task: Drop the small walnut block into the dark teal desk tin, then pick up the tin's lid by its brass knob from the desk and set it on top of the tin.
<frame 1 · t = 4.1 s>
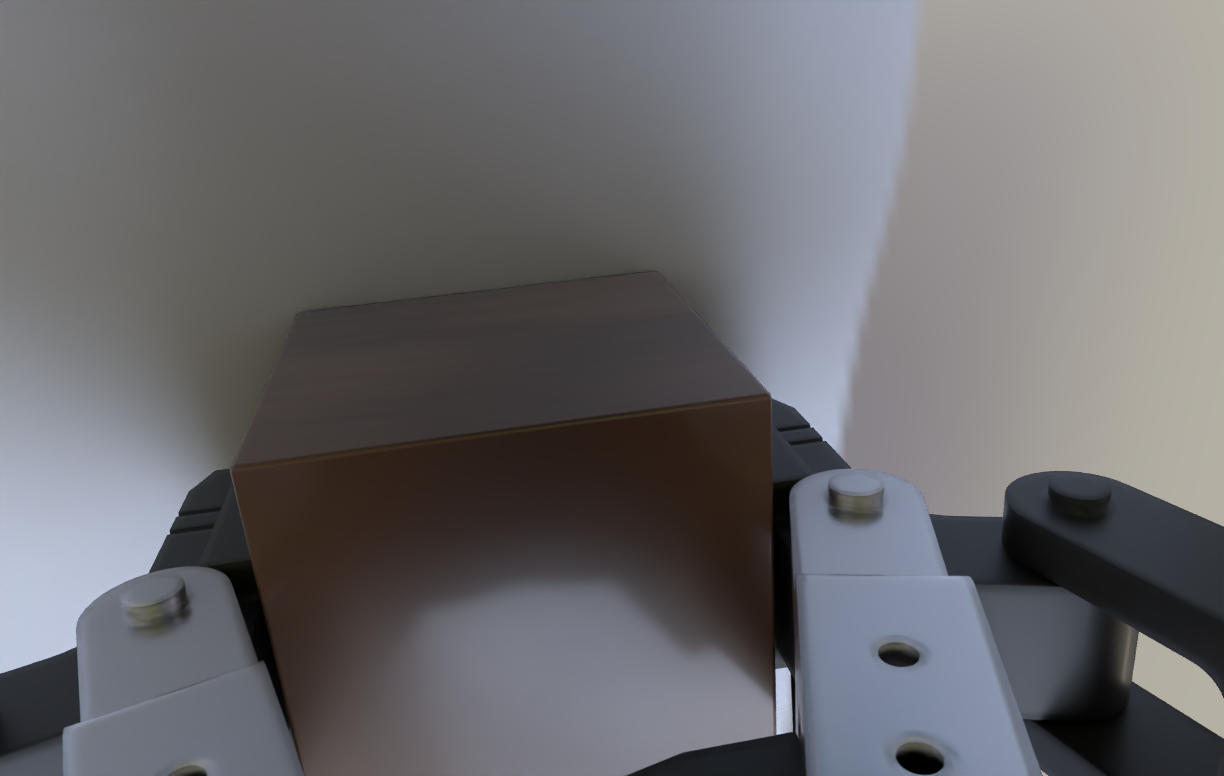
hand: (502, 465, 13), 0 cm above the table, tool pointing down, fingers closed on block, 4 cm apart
block: (502, 453, 13), on the table, touching gripper
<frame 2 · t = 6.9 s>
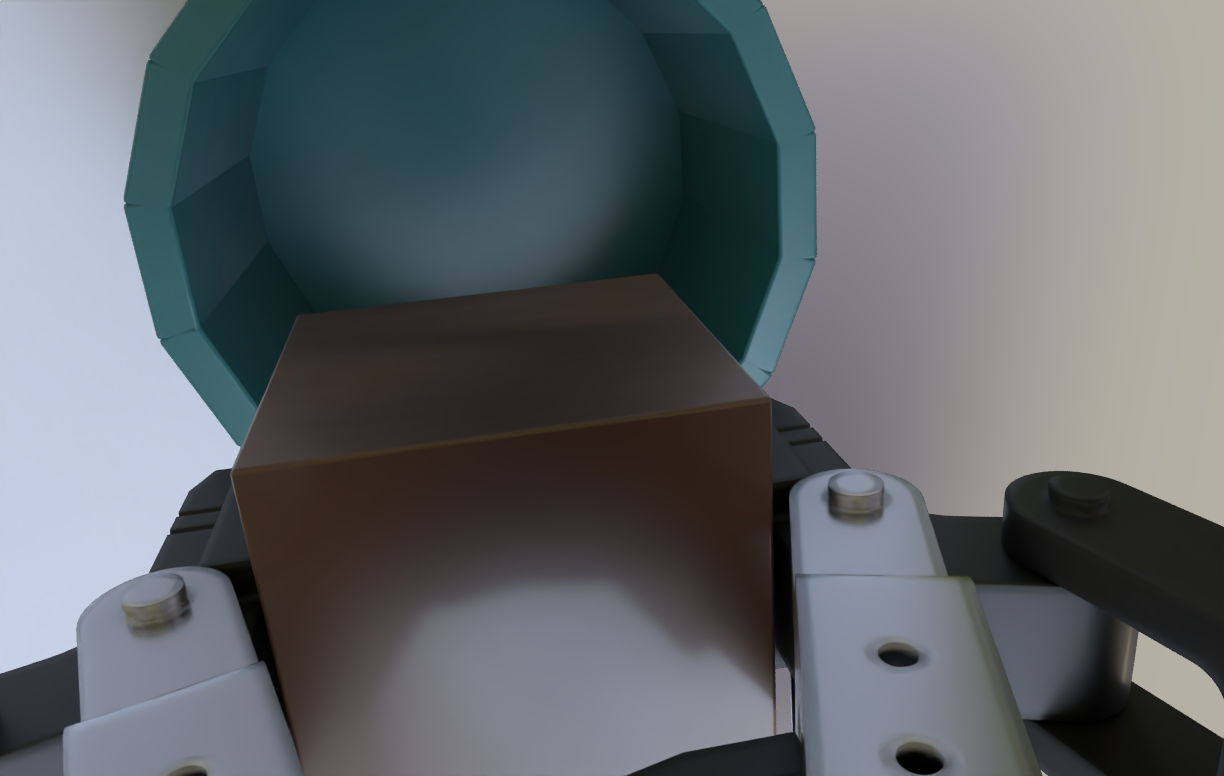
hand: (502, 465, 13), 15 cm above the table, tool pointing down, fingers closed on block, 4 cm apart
block: (502, 456, 13), point 14 cm above the table, touching gripper
tin: (475, 172, 26), on the table
when the fingers open (6 cm above the table, at t = 9.7 s): block drops 5 cm, resting on tin.
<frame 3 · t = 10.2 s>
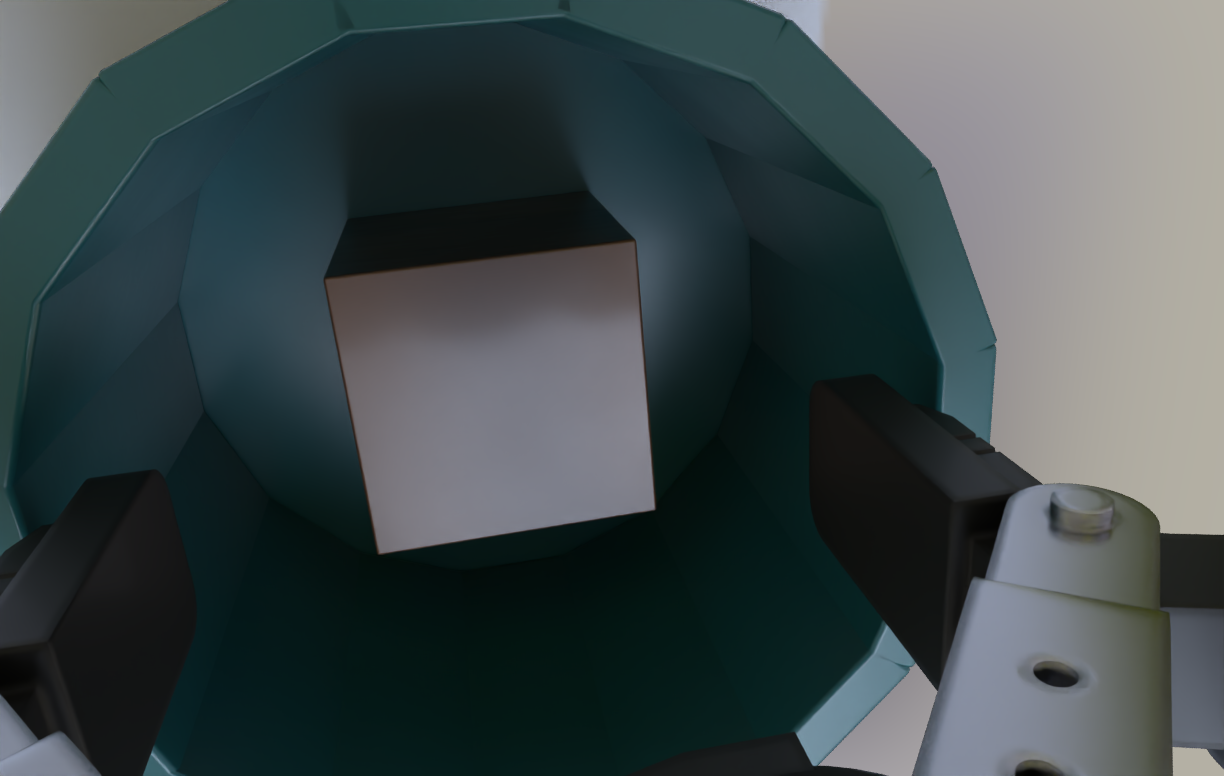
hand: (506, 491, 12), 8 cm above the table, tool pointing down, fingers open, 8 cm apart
block: (485, 320, 19), resting on tin
tin: (480, 313, 20), on the table
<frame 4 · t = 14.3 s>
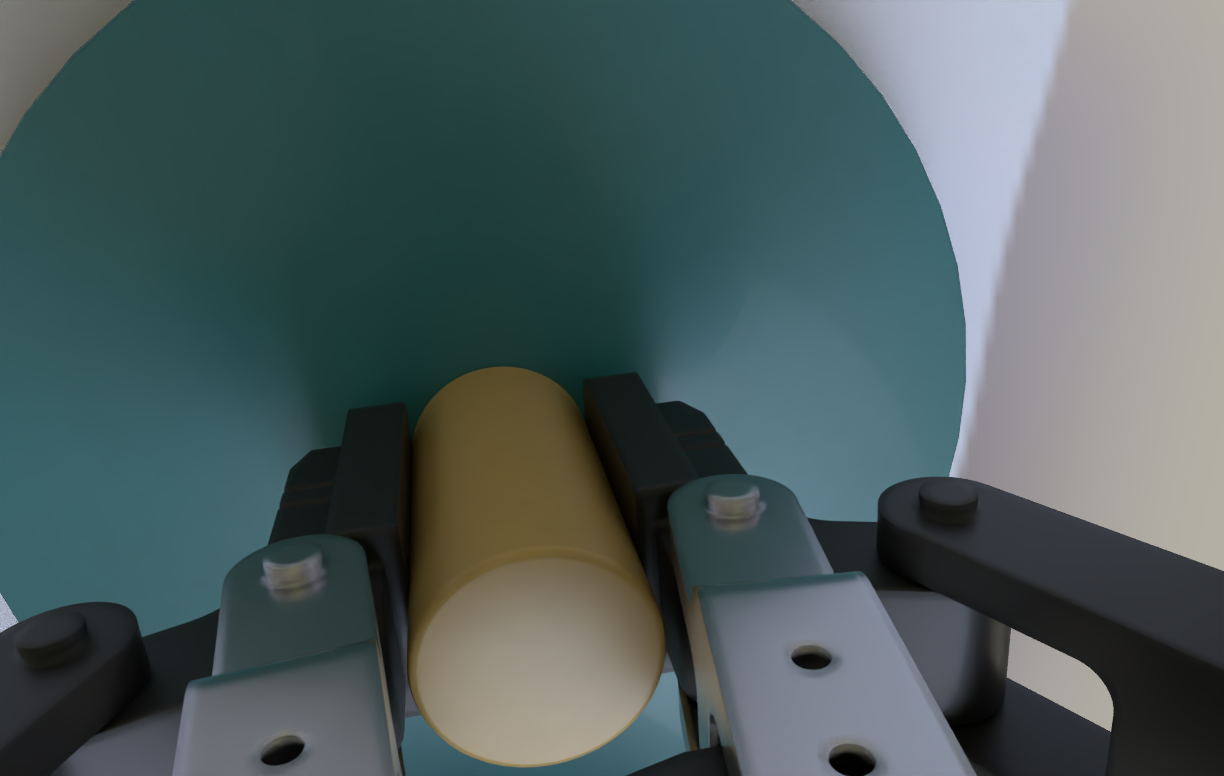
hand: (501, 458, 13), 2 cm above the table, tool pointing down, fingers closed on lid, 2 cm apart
lid: (498, 429, 14), point 1 cm above the table, touching gripper
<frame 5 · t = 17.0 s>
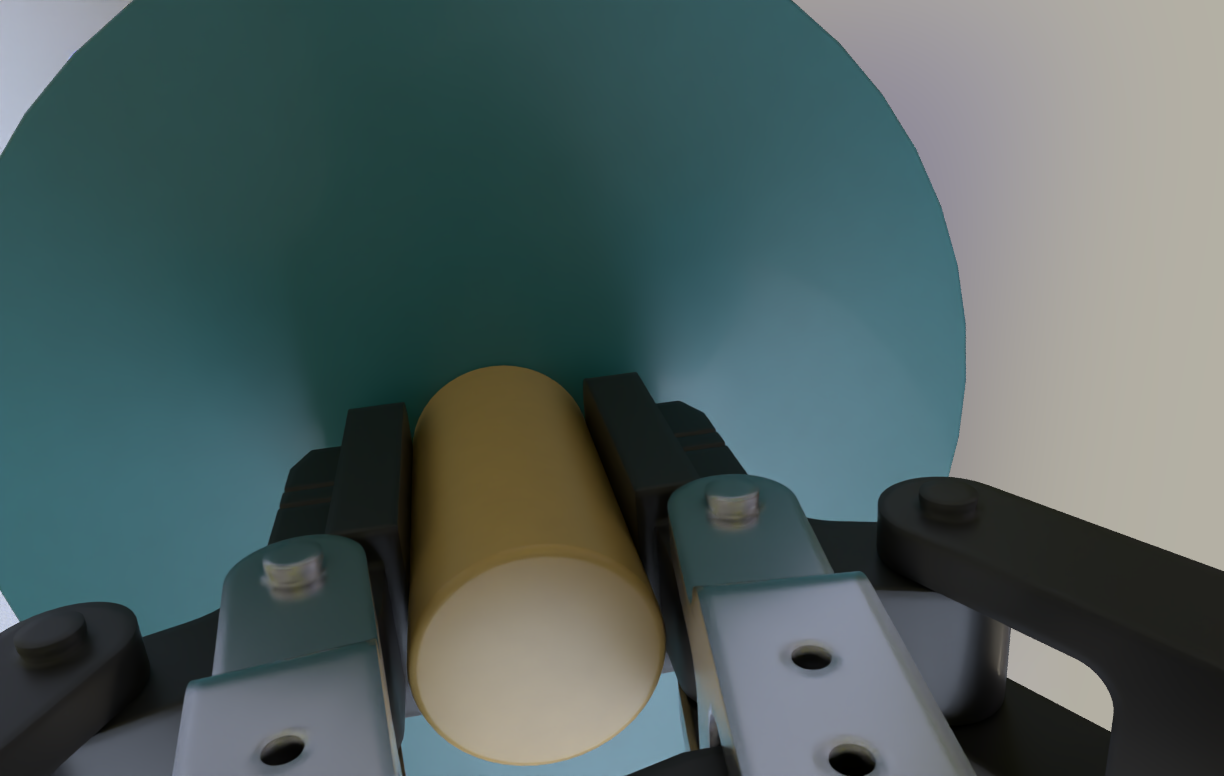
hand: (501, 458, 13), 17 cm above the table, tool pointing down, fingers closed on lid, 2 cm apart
lid: (498, 428, 14), point 16 cm above the table, touching gripper
when the fingers open (9 cm above the table, at t = 19.7 s): lid stays where it is, resting on tin.
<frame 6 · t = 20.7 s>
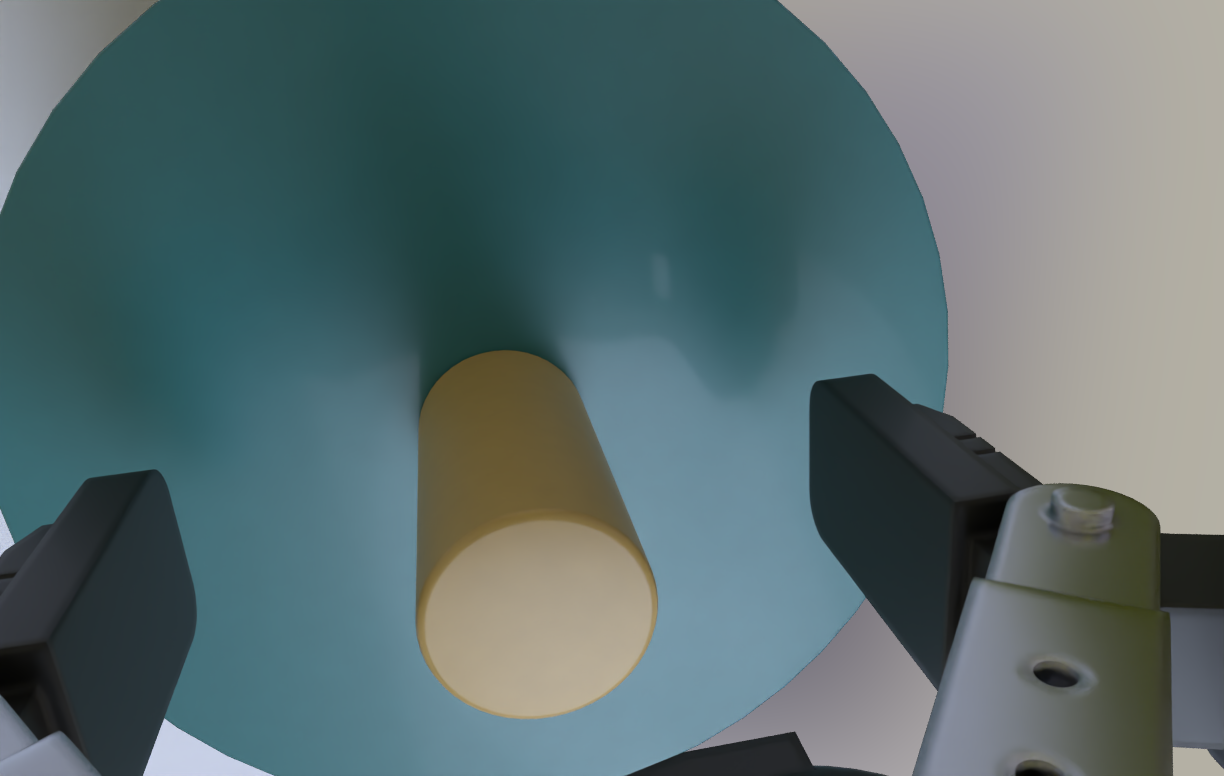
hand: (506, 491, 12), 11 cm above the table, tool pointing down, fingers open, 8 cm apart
lid: (500, 411, 15), point 8 cm above the table, touching tin
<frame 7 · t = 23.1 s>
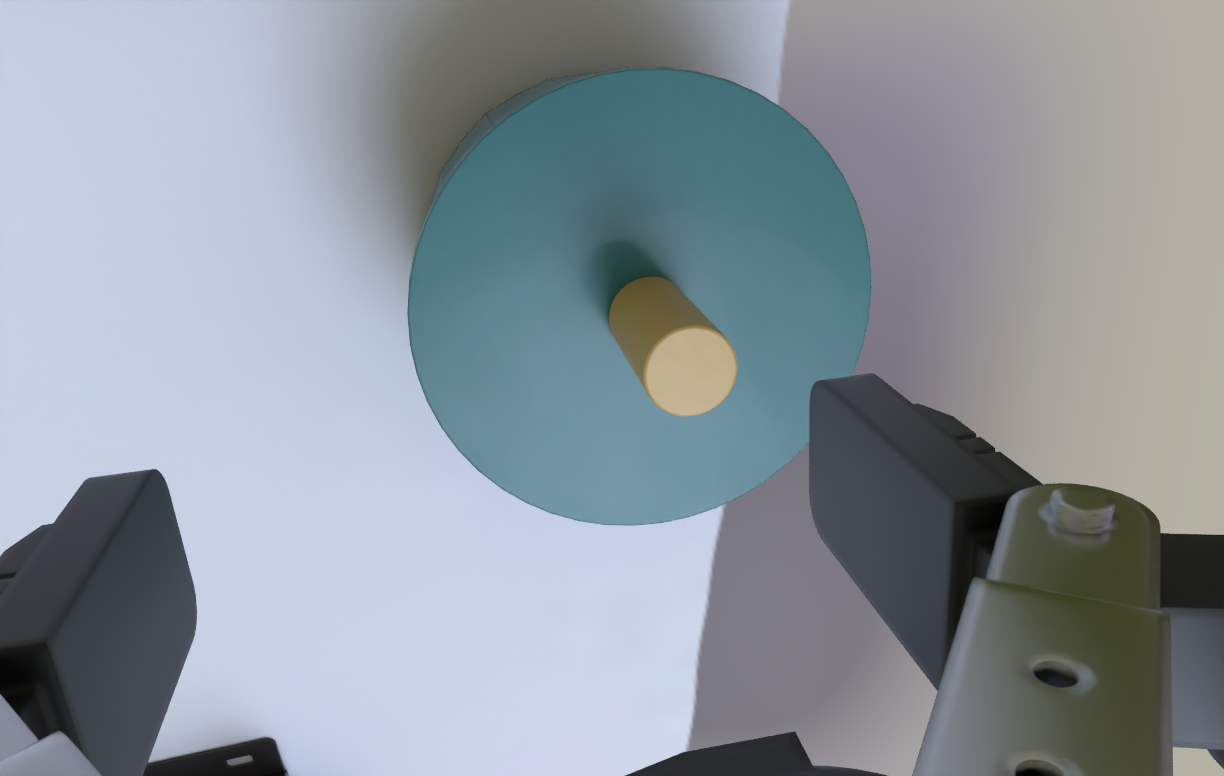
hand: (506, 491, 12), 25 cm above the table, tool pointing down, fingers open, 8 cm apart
lid: (644, 310, 29), point 8 cm above the table, touching tin
tin: (596, 249, 37), on the table
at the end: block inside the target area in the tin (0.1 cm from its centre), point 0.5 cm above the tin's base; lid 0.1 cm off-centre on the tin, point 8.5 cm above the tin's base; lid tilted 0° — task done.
